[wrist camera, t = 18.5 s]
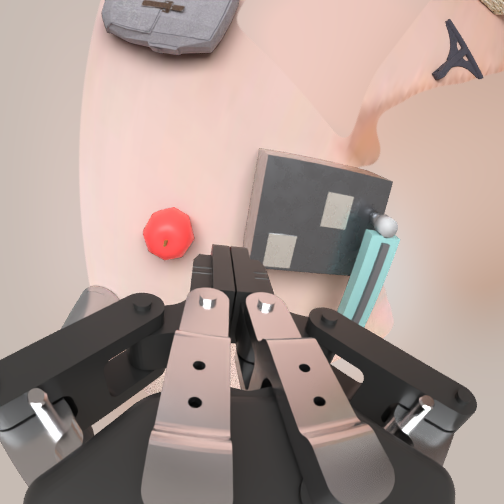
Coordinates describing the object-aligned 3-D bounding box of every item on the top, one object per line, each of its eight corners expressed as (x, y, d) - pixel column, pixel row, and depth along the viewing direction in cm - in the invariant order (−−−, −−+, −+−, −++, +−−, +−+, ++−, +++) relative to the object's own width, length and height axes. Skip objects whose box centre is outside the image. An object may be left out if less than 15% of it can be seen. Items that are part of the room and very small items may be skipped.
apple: (168, 255, 48) (160, 280, 41) (139, 219, 45) (125, 239, 38) (205, 230, 47) (204, 252, 40) (177, 191, 44) (169, 206, 37)
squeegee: (410, 45, 36) (419, 43, 33) (446, 19, 33) (454, 17, 30) (447, 107, 42) (457, 108, 39) (478, 76, 38) (487, 76, 36)
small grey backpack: (248, -8, 31) (132, -29, 26) (254, -30, 23) (119, -50, 18) (211, 70, 36) (94, 45, 31) (210, 59, 29) (72, 35, 24)
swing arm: (371, 211, 37) (380, 218, 35) (398, 217, 38) (408, 224, 36) (333, 319, 45) (339, 330, 43) (359, 320, 46) (365, 329, 44)
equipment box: (345, 254, 52) (369, 284, 43) (243, 243, 49) (249, 275, 40) (368, 170, 45) (401, 185, 36) (259, 148, 42) (271, 156, 33)
